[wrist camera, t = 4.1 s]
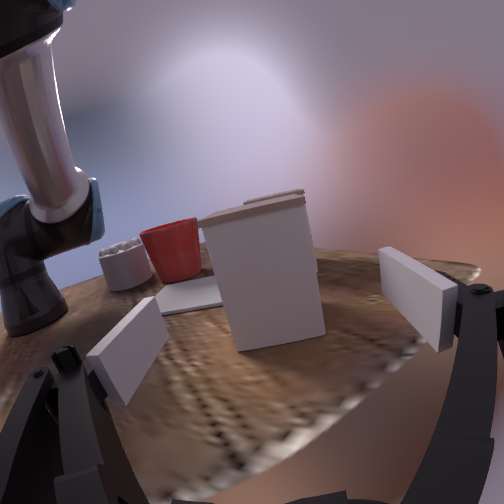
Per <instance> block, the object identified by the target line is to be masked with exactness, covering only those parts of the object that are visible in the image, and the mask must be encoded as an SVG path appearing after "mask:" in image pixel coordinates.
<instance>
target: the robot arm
mask: <svg viewBox="0 0 504 504" xmlns="http://www.w3.org/2000/svg"><path fill="white" fill-rule="evenodd" d="M75 4H76V0H0V127H1V130H2V133H3V135H4V138H5V140H6V142H7V145H8V147H9V150H10V152H11V154H12V157H13V159H14V161H15V163H16V165H17V168H18V170H19V172H20V174H21V176H22V178H23V180H24V182H25V184H26V186H27V188H28V190H29V191H30V193H31V195H30V199H29V198H28V196H27V195H18V196H15V197H13V198H11V199H10V198H9V199H7V200H5V201H3V202H1V203H0V295H1V305H2V313H3V320H4V326H5V328H6V330H7V333H8V335H9V336H19V335H23V334H26V333H29V332H32V331H34V330H37V329H39V328H41V327H43V326H45V325H47V324H49V323H50V322H52V321H54V320H55V319H57V318H58V317H60V316H61V315H62V314H64V313H65V312H66V311H67V309H68V306H67V304H66V301H65V299H64V297H63V295H61V294H60V292H59V291H58V289H57V287H56V286H55V284H54V283H53V281H52V280H51V279H50V277H49V276H48V273H47V271H46V268H45V265H44V259H47V258H49V257H52V256H55V255H58V254H60V253H63V252H65V251H69V250H72V249H75V248H77V247H81V246H84V245H89V244H90V243H91V242H94V241H96V240H99V239H101V238H102V237H103V235H104V232H105V227H104V219H103V213H102V206H101V199H100V193H99V187H98V182H97V180H96V179H95V178H87V176H86V174H85V173H84V172H83V171H82V170H80V169H79V168H76V167H75V165H74V161H73V158H72V154H71V151H70V147H69V143H68V139H67V135H66V131H65V127H64V122H63V118H62V113H61V108H60V103H59V98H58V92H57V87H56V80H55V73H54V65H53V57H52V47H51V41H52V39H53V37H54V36H55V35H56V33H57V32H58V31H59V30H60V28H61V27H62V26H63V13H65V12H68V11H69V10H70V9H72V8H73V7H74V6H75ZM378 254H379V263H380V273H381V286H382V294H383V295H384V296H385V297H386V299H387V300H388V301H389V302H390V303H391V304H392V305H393V306H394V307H395V308H396V309H397V310H398V311H399V312H400V313H401V314H402V315H403V316H404V317H405V318H406V319H407V320H408V321H409V322H410V323H411V325H412V326H413V327H414V328H415V329H416V330H417V331H418V332H419V333H420V334H421V335H422V336H423V337H424V339H425V340H426V341H427V342H428V343H429V344H430V345H431V346H432V347H433V348H434V350H435V351H436V352H437V353H439V352H442V351H444V350H447V349H449V348H451V347H452V345H453V338H454V334H455V335H456V336H457V337H458V338H459V339H458V346H457V351H456V356H455V361H454V366H453V370H452V375H451V379H450V383H449V387H448V390H447V394H446V398H445V401H444V404H443V408H442V411H441V414H440V417H439V420H438V423H437V426H436V429H435V431H434V433H433V436H432V439H431V441H430V444H429V446H428V449H427V451H426V453H425V456H424V458H423V460H422V462H421V465H420V467H419V469H418V471H417V473H416V475H415V477H414V479H413V481H412V483H411V485H410V488H409V489H408V491H407V493H406V495H405V496H404V498H403V500H402V502H401V503H400V504H478V503H479V500H480V497H481V494H482V491H483V488H484V485H485V481H486V478H487V474H488V470H489V467H490V463H491V458H492V454H493V449H494V438H490V432H491V426H492V420H493V413H494V405H495V395H496V382H497V341H498V343H499V346H500V349H501V352H502V355H503V358H504V290H502V291H497V292H493V289H492V288H491V287H490V286H488V285H485V284H472V285H469V286H467V285H465V284H464V283H462V282H460V281H459V280H457V279H455V278H453V277H451V276H450V275H448V274H446V273H445V272H441V271H436V270H435V271H434V270H432V269H430V268H428V267H427V266H425V265H423V264H421V263H420V262H418V261H416V260H414V259H412V258H411V257H409V256H407V255H405V254H403V253H401V252H399V251H398V250H396V249H394V248H392V247H390V246H389V247H385V248H381V249H378ZM168 338H169V333H168V331H167V328H166V326H165V323H164V320H163V318H162V315H161V312H160V309H159V307H158V304H157V301H156V298H155V296H153V297H148V298H144V299H143V300H142V301H141V302H140V303H139V304H137V305H136V306H135V307H134V308H133V309H132V310H131V311H130V312H129V313H128V314H127V315H126V316H125V317H124V318H123V319H122V320H121V321H120V322H119V323H118V324H117V325H116V326H115V327H114V328H113V329H112V330H111V331H110V332H109V333H108V334H107V335H106V336H105V337H104V338H103V339H102V340H101V341H100V342H99V343H98V344H97V345H96V346H95V347H94V348H93V349H92V350H91V351H90V352H89V353H88V354H87V355H86V358H85V359H84V360H83V361H81V359H80V357H79V355H78V353H77V351H76V349H75V347H74V345H71V344H70V345H65V346H62V347H60V348H58V349H56V350H55V351H54V352H53V353H52V354H51V358H52V360H53V362H54V364H55V366H56V367H57V369H58V371H59V374H58V375H52V374H51V372H50V370H49V368H48V367H41V368H37V369H35V370H34V371H33V372H32V373H31V374H30V375H29V377H28V379H27V380H26V382H25V384H24V386H23V388H22V390H21V392H20V393H19V395H18V397H17V399H16V401H15V403H14V405H13V407H12V409H11V411H10V414H9V416H8V418H7V420H6V422H5V424H4V427H3V429H2V431H1V433H0V504H149V502H148V500H147V498H146V496H145V495H144V493H143V491H142V489H141V487H140V485H139V483H138V481H137V479H136V477H135V475H134V472H133V470H132V468H131V466H130V464H129V461H128V459H127V457H126V454H125V452H124V450H123V447H122V445H121V442H120V439H119V437H118V434H117V432H116V429H115V426H114V423H113V420H112V417H111V414H110V411H109V408H108V406H107V404H106V403H105V401H104V400H105V398H106V397H107V395H108V397H109V399H110V400H111V402H112V403H113V405H119V406H127V404H128V403H129V401H130V399H131V398H132V396H133V394H134V393H135V391H136V389H137V388H138V386H139V385H140V383H141V381H142V380H143V378H144V376H145V375H146V373H147V372H148V370H149V368H150V367H151V365H152V363H153V362H154V360H155V359H156V357H157V355H158V354H159V352H160V351H161V349H162V347H163V346H164V344H165V343H166V341H167V340H168ZM47 409H48V410H47ZM48 411H49V412H50V413H49V412H48ZM171 504H213V503H207V502H193V501H183V500H175V499H172V502H171ZM286 504H387V503H384V502H379V501H374V500H365V499H347V495H346V490H345V491H340V492H336V493H331V494H327V495H321V496H315V497H309V498H302V499H298V500H296V501H292V502H289V503H286Z"/></svg>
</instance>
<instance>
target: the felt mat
mask: <svg viewBox="0 0 504 504" xmlns="http://www.w3.org/2000/svg"><path fill="white" fill-rule="evenodd" d="M155 298H156V301H157V304H158V307H159V309H160V312H161V315H168V314H174V313H180V312H186V311H192V310H198V309H204V308H210V307H215V306H221V305H223V303H222V299H221V296H220V292H219V289H218V285H217V282H216V278H215V275H214V276H209V277H204V278H200V279H195V280H190V281H185V282H180V283H175V284H170V285H166V286H165V287H164V288H163V289H162V290H161V291H160V292H159V293H158V294H157V295H156V296H155Z"/></svg>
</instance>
